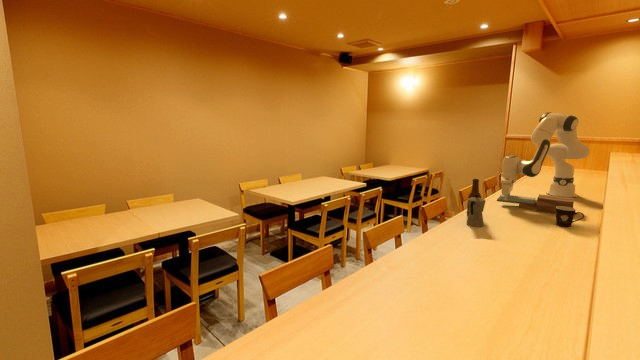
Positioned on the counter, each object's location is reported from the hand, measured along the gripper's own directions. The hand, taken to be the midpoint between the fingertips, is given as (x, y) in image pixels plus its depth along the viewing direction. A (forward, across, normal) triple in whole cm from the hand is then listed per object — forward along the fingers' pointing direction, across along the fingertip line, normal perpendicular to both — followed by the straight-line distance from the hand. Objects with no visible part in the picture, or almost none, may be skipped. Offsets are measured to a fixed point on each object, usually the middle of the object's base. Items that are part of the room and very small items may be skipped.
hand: (506, 198), depth 213 cm
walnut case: (+4, 0, +22) cm, 22 cm away
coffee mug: (+5, +30, +33) cm, 45 cm away
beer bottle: (+5, +40, -12) cm, 42 cm away
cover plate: (0, 0, +6) cm, 6 cm away
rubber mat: (+4, -15, +6) cm, 17 cm away
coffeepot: (+5, +55, -8) cm, 56 cm away
